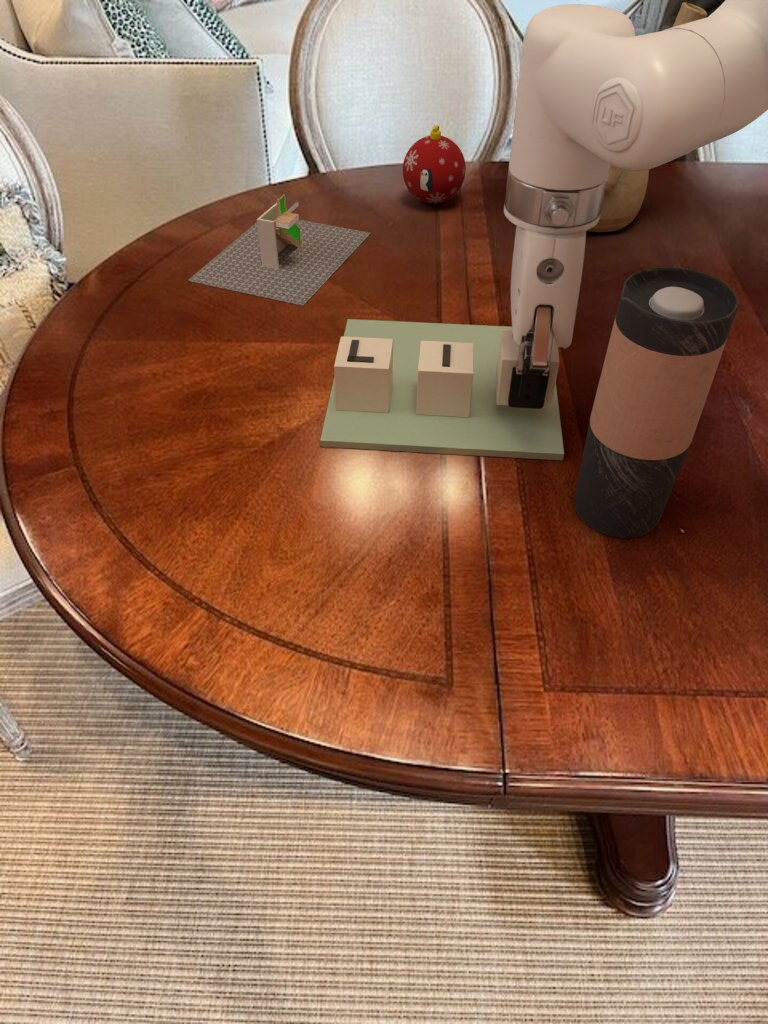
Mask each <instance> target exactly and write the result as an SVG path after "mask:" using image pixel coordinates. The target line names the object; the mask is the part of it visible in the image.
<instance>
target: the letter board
mask: <svg viewBox="0 0 768 1024" xmlns="http://www.w3.org/2000/svg"><path fill="white" fill-rule="evenodd" d="M501 329H510V330H512V326H507V325H505V326H504V325H485V324H483V325H482V324H464V323H463V324H462V323H461V324H460V323H441V322H440V323H439V322H420V321H418V322H417V321H397V320H379V319H378V320H377V319H356V318H355V319H354V318H347V319H346V323H345V329H344V332H343V337H364V338H385V339H393V384H392V392H391V399H390V407H389V413H380V412H361V411H343V410H336V394H335V376H334V377H333V381H332V384H331V385H332V386H331V390H330V396H329V399H328V404H327V408H326V412H325V417H324V421H323V426H322V430H321V435H320V439H319V446H320V447H321V448H336V449H351V450H352V449H353V450H369V451H370V450H372V451H389V452H407V453H421V454H422V453H425V454H442V455H443V454H444V455H456V456H457V455H459V456H477V457H493V458H495V457H496V458H497V457H498V458H513V459H527V460H529V459H530V460H545V461H546V460H547V461H564V458H565V448H564V441H563V431H562V423H561V414H560V406H559V398H558V390H557V383H556V384H555V389H554V394H553V400H552V405H551V408H545V407H543V408H541V409H532V408H514V407H510V406H508V405H497V404H496V368H497V359H498V351H499V343H500V335H501ZM421 341H440V342H461V343H474V374H473V385H472V395H471V405H470V415H469V417H453V416H434V415H417V414H416V406H417V380H418V364H419V354H420V343H421Z"/></svg>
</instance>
